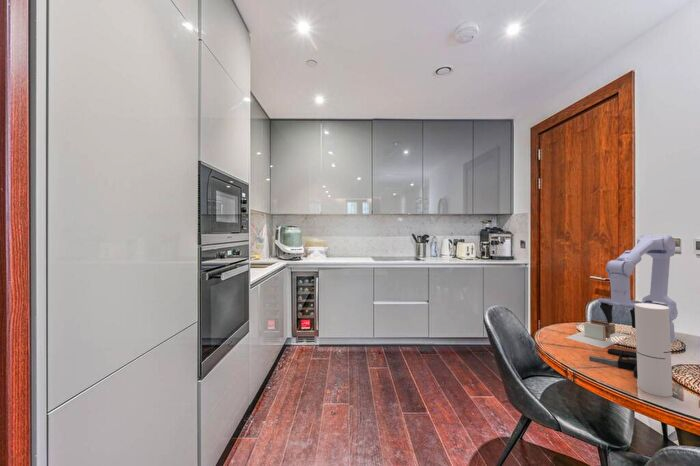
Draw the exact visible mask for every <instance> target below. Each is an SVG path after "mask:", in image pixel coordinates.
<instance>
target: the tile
mask: <svg viewBox="0 0 700 466" xmlns="http://www.w3.org/2000/svg"><path fill="white" fill-rule="evenodd" d="M583 326H584V330H583V331H585V336H586V337H590V338H594V339H598V340H602V341H605V340H606V336H605V326H601V325H597V324H592V323H590V322H588V321H587V322H586V321H585V322H584V323H583Z"/></svg>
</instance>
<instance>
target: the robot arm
mask: <svg viewBox="0 0 700 466" xmlns="http://www.w3.org/2000/svg"><path fill="white" fill-rule="evenodd" d="M675 252H676V241H675V239H674V237H673V236H671V235H670V234H669V235H640V236H639V237H637V239H636V244H635V246H633V248H632V249H631V250H624V251H623V253H622V254H620V255H619V256H618V257H617V258H615V259H613V260H612V259H611V260H610V261H608V262H607V263H606V267H605V270H606V272H607V277H608V279H609V281H610V283H609V284H610V298H609V299H608V298H597V304H600V305H599V307H600V309H601V311H602V312H603V314H604V316H605V318H606V322H608V323H613V307H614V306H615V307H621V308H626V309H627V308H628V309H630V310H629V312H630V317H631V327H632V329H636V327H635V304H636V303H637V302H633V301H632V300H631V279H630V276H632V275H633V272H634V269H636V267H635V266H636V265H638V264H639V263H640V262H641V261H642V256H644V255H648V256H650V257H651V258H652V265H651V276H650V277H651V279H650V292H649V294H648V295H645V296H643V297H642V300H641V303H649V304H657V305H663V306H667V307H669V321H670V344H673V343H674V342H676V341H678V340H679V339H678V338H677V337H675V324H674V322H673V321H675V320H676V319H677V317H678V309H677V302H676V301H674V300H673V299H672V298H671V297H669V296H668V290H669V277H670V261H671V260H670V258H671V257H674V256H675Z"/></svg>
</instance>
